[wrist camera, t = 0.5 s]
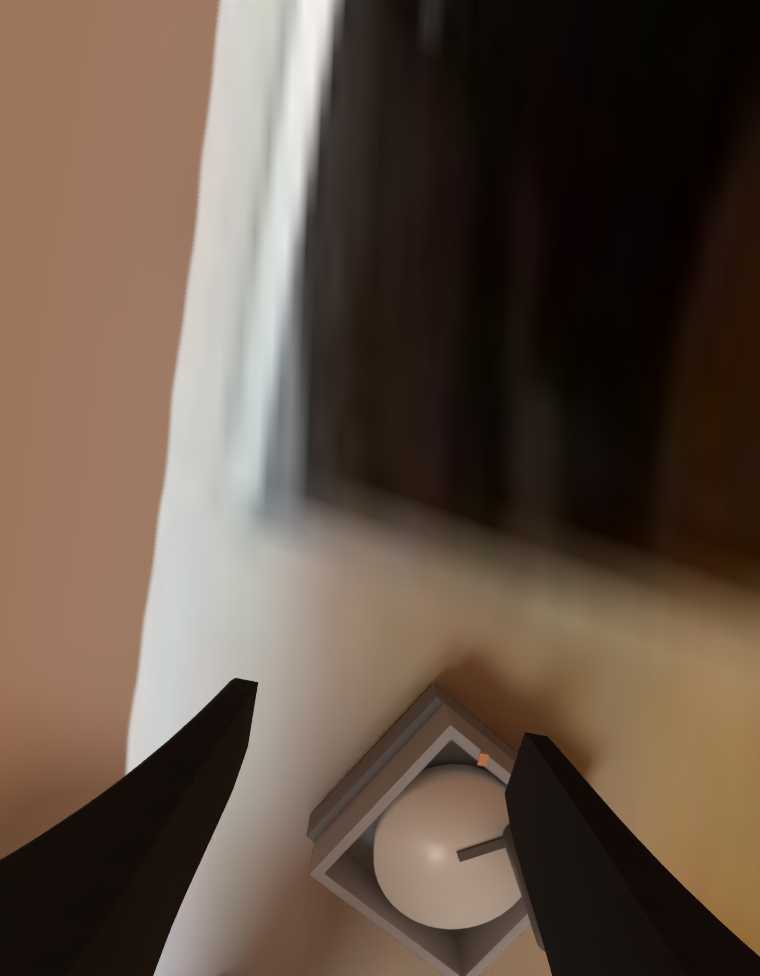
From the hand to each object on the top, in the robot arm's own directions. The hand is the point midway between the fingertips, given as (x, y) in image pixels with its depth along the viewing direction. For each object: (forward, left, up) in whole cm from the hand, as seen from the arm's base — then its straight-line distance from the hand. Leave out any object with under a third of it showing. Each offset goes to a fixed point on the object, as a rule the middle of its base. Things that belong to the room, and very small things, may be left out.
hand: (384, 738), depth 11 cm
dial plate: (-7, -11, -10) cm, 16 cm away
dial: (-7, -11, -9) cm, 15 cm away
